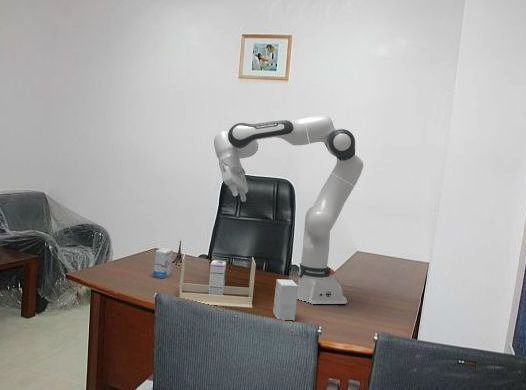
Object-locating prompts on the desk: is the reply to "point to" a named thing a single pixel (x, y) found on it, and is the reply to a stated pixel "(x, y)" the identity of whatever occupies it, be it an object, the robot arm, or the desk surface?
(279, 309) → the small box
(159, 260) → the ink box
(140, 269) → the desk surface
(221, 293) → the syrup box
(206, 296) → the wooden rack
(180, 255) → the eiffel tower figurine
